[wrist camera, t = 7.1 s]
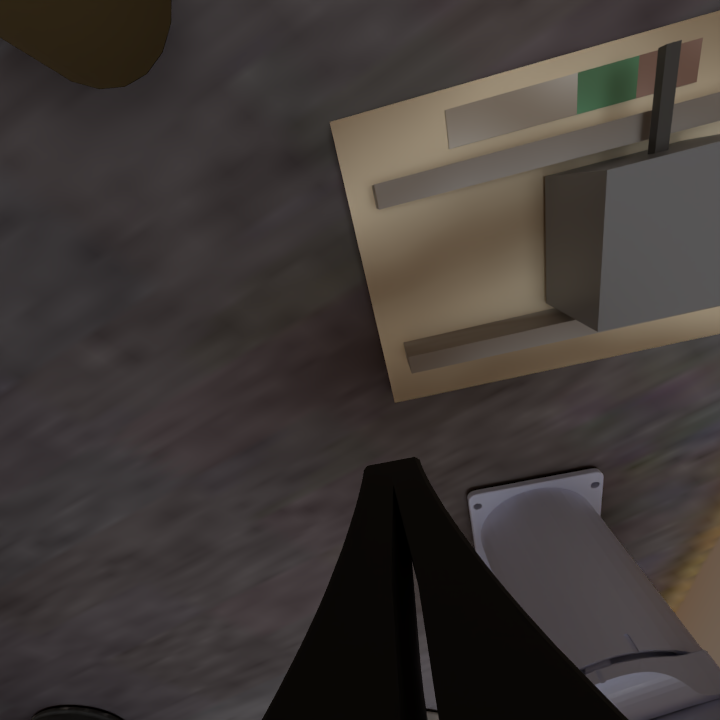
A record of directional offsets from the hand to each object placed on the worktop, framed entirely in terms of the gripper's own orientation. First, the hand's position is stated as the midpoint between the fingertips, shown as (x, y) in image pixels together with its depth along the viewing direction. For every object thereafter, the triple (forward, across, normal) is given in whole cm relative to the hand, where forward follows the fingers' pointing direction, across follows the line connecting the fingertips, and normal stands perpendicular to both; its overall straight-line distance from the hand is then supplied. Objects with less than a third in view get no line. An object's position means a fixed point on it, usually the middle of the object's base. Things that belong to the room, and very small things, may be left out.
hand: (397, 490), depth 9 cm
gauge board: (+9, -10, -4) cm, 14 cm away
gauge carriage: (+8, -10, -5) cm, 14 cm away
